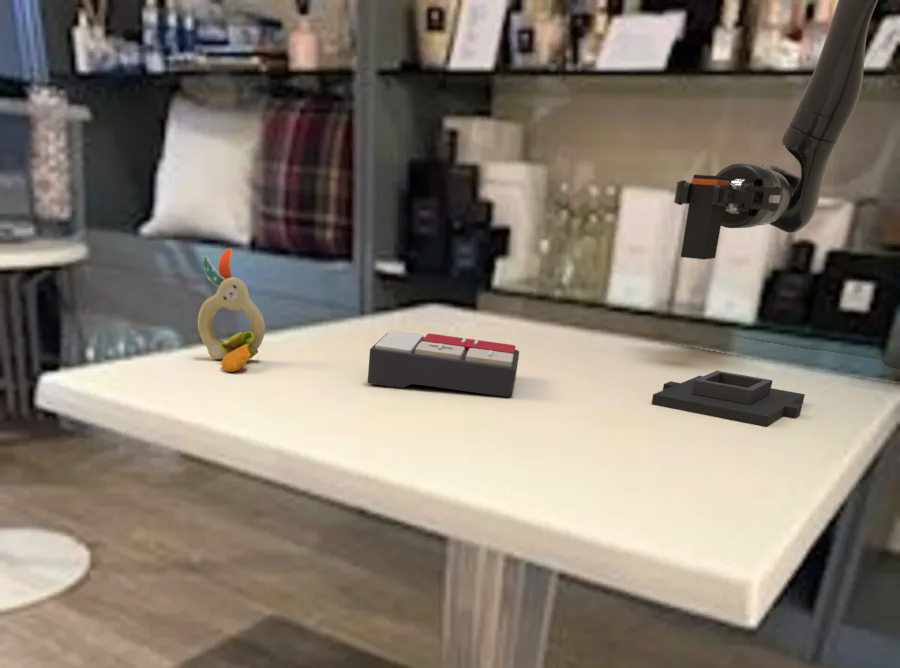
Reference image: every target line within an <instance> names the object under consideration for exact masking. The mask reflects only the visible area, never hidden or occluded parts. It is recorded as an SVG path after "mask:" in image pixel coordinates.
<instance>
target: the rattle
mask: <svg viewBox="0 0 900 668" xmlns="http://www.w3.org/2000/svg"><path fill="white" fill-rule="evenodd" d="M232 256H233V248H227V249H225V250H224V251H223V252H222V254H221V255H220V258H219V260H218V270H217V269H216V268H215V267H214V265H213V264H212V262H211V260H210V257H208V256H207V255H205V256H203V260H202V261H203V262H202V263H203V264H202V265H203V270H204V273H205V276H206V278H207V279H208V281H209V282H211V284H213V285H214V286H216V287H217V290H216V292H215V294H213V295H212V296H210V297H208V298H206V299H205V300H204V302H203V303H202V304H201V306H200V308H199V312H198V316H197V329H198V334H199V337H200V340H201V341H202V343H203V345H204V346H205V347H206V349H207V353H208V354H209V356H210V358H211V359H213V360H221V362H220V364H221V367H222V369H223V370H224V371H226V372H228V373H232V372H233V373H234V372H237V371H239V370H240V369H242V368H243V367H244V366H245V365H246V364H247V363H248V361H249V360H250V359H252V358H253V357H254V356H256V355H258V353H259V348H260V346H261V345H262V342H263V340H264V337H265V333H266V325H265V320H264V316H263V314H262V312H261V310H260V309H259V308H258V306H257V305H256V304H255V303H254V302H253V301H252V300H251V298H250V293H249V289H248V286H247V285H246V283H245V282H244V281H243V280H242V279H241V278H239V277H234V276H232V271H231V259H232ZM223 308H224V309H226V310H228V311H232V312H235V311H241V312H243V313H244V315H245V317H246V318H247V320H248V322H249V329H250V330H247V331H245V332H242V331H240V332H238V333H235V334H234V335H231V336H230V337H229V339H227V341H224V340H221V339H219V338H217V337H216V335H215V333H214V329H213V320H214V317H215V316H216V314H217V313H218V312H219V311H220V310H221V309H223Z"/></svg>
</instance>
